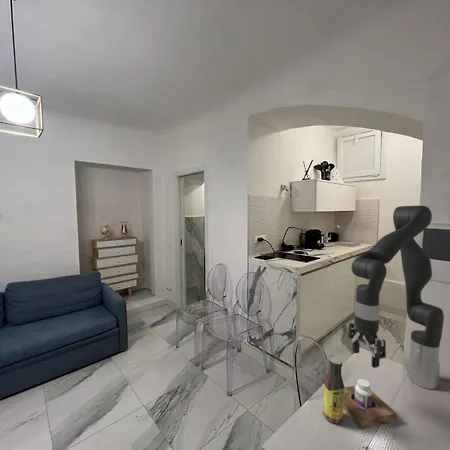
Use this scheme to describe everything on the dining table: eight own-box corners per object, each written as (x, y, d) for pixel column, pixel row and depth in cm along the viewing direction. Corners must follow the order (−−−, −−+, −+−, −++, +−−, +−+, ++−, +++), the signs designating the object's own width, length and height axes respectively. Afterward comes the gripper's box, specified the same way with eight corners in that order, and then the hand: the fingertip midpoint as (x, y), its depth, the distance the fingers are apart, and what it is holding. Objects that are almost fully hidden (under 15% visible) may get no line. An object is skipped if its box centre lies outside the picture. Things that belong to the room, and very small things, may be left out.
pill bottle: (366, 403, 88) (368, 378, 88) (374, 415, 83) (375, 388, 82) (351, 401, 89) (352, 376, 88) (358, 413, 83) (359, 387, 83)
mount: (363, 391, 94) (364, 384, 94) (396, 421, 80) (396, 413, 80) (332, 396, 91) (333, 389, 91) (361, 429, 77) (361, 420, 77)
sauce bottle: (334, 427, 78) (336, 368, 77) (318, 413, 83) (320, 358, 82) (347, 420, 81) (349, 363, 80) (331, 406, 86) (333, 353, 85)
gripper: (393, 323, 78) (391, 371, 79) (360, 306, 92) (358, 347, 93) (374, 325, 76) (372, 374, 77) (343, 307, 90) (341, 349, 91)
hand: (364, 359), depth 85 cm, fingers open, 8 cm apart
